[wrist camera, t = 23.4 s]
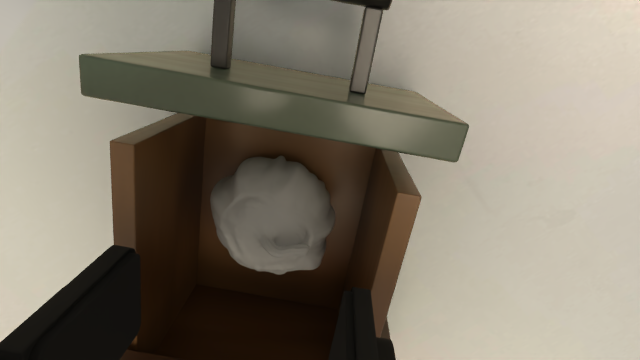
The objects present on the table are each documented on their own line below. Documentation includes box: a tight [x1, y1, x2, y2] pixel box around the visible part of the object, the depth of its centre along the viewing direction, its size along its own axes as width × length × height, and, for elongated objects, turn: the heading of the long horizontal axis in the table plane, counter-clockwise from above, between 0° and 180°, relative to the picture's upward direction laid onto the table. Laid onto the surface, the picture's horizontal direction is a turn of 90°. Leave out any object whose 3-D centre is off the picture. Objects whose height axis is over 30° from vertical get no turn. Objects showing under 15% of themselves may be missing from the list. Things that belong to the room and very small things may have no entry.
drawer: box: [79, 0, 469, 360], centre depth 16 cm, size 18×11×8 cm, turn 170°
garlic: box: [210, 156, 335, 275], centre depth 16 cm, size 6×5×5 cm
